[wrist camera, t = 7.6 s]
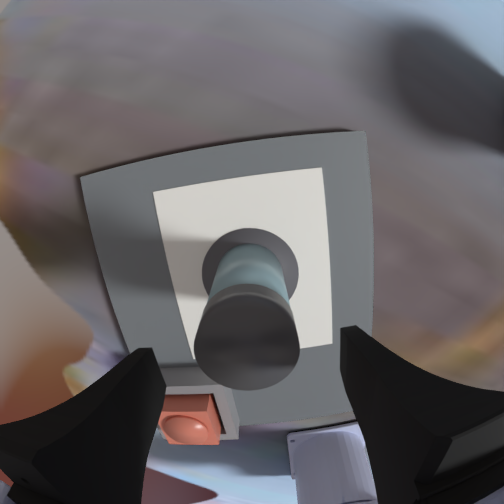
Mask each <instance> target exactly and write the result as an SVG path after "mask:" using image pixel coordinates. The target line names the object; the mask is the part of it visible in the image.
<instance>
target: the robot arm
mask: <svg viewBox="0 0 504 504" xmlns="http://www.w3.org/2000/svg"><path fill="white" fill-rule="evenodd" d="M340 372H341V377H342V381H343V384H344V388H345V392H346V394H347V397H348V399H349V402H350V404H351V407H352V409H353V412H354V414H355V417H356V419H357V422H352V423H348V424H343V425H337V426H332V427H326V428H321V429H314V430H308V431H301V432H293V433H289V434H288V435H287V442H288V451H289V460H290V469H291V477H292V479H295V480H296V490H297V500H298V504H504V392H501V391H493V390H486V389H480V388H475V387H471V386H466V385H463V384H459V383H456V382H453V381H450V380H447V379H444V378H441V377H439V376H436V375H434V374H431V373H429V372H427V371H425V370H423V369H421V368H419V367H417V366H415V365H413V364H411V363H409V362H408V361H406V360H404V359H403V358H401V357H399V356H398V355H396V354H395V353H393V352H392V351H390V350H389V349H387V348H386V347H384V346H383V345H382V344H380V343H379V342H378V341H376V340H375V339H374V338H372V337H371V336H370V335H368V334H367V333H366V332H364V331H363V330H362V329H361V328H359V327H358V326H357V325H354V326H348V327H342V328H340ZM166 387H167V386H166V383H165V381H164V378H163V376H162V373H161V370H160V368H159V365H158V362H157V360H156V357H155V354H154V351H153V349H152V347H149V348H138V349H136V350H135V351H133V352H132V353H131V354H129V355H128V356H127V357H126V358H124V359H123V360H122V361H121V362H119V363H118V364H117V365H116V366H115V367H113V368H112V369H111V370H110V371H108V372H107V373H106V374H105V375H104V376H102V377H101V378H100V379H98V380H97V381H96V382H94V383H93V384H92V385H90V386H89V387H88V388H86V389H85V390H83V391H82V392H80V393H79V394H77V395H76V396H74V397H72V398H70V399H69V400H67V401H65V402H64V403H62V404H59V405H57V406H56V407H53V408H51V409H49V410H47V411H45V412H42V413H40V414H37V415H35V416H32V417H29V418H26V419H23V420H19V421H16V422H11V423H7V424H2V425H0V469H1V470H2V471H3V472H4V473H5V474H6V475H7V476H8V477H9V478H10V479H11V480H12V481H13V482H14V483H13V485H12V487H10V486H9V485H7V484H6V483H4V482H3V481H1V480H0V504H141V497H142V488H143V480H144V473H145V467H146V462H147V457H148V453H149V449H150V446H151V443H152V440H153V437H154V434H155V431H156V428H157V425H158V422H159V418H160V415H161V412H162V409H163V405H164V399H165V393H166ZM365 444H366V448H367V452H368V456H369V460H370V464H371V469H372V474H373V477H372V474H371V470H370V467H369V464H368V460H367V457H366V454H365V451H364V446H365ZM373 479H374V480H373ZM374 483H375V484H374Z"/></svg>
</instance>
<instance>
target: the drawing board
mask: <svg viewBox="0 0 504 504" xmlns="http://www.w3.org/2000/svg"><path fill="white" fill-rule="evenodd" d="M80 180H81V185H82V191H83V196H84V201H85V206H86V210H87V215H88V219H89V224H90V228H91V232H92V236H93V240H94V244H95V248H96V252H97V256H98V259H99V263H100V266H101V270H102V273H103V277H104V280H105V283H106V287H107V290H108V293H109V296H110V299H111V302H112V305H113V308H114V311H115V314H116V317H117V320H118V323H119V325H120V328H121V331H122V334H123V336H124V339H125V342H126V344H127V347H128V349H129V352H130V354H131V353H132V352H133V351H135V350H136V349H138V348H149V347H152V349H153V351H154V354H155V357H156V360H157V362H158V365H159V368H160V370H161V373H162V376H163V378H164V381H165V383H166V386H167V387H166V393H165V394H210V393H212V394H213V397H214V400H215V403H216V406H217V410H218V413H219V416H220V419H221V422H222V424H221V433H220V440H234V439H238V438H239V426H244V425H257V424H269V423H278V422H287V421H295V420H302V419H309V418H315V417H322V416H327V415H333V414H338V413H344V412H349V411H353V409H352V407H351V404H350V402H349V399H348V397H347V394H346V392H345V388H344V384H343V381H342V377H341V372H340V328H342V327H348V326H354V325H357V326H358V327H359V328H361V329H362V330H363V331H364V332H366V333H367V334H368V335H370V336H372V318H373V291H374V239H373V211H372V194H371V180H370V168H369V158H368V148H367V139H366V131H350V132H333V133H319V134H307V135H296V136H286V137H277V138H269V139H261V140H253V141H246V142H239V143H232V144H226V145H220V146H214V147H208V148H202V149H197V150H191V151H186V152H181V153H176V154H171V155H166V156H161V157H157V158H152V159H148V160H144V161H139V162H135V163H131V164H127V165H123V166H119V167H115V168H111V169H108V170H104V171H100V172H97V173H93V174H89V175H86V176H83V177H80ZM249 243H250V244H258V245H261V246H264V247H266V248H267V249H269V250H270V251H272V252H273V253H274V254H275V255H276V257H277V258H278V260H279V262H280V264H281V267H282V272H283V276H284V281H285V285H286V289H287V294H288V298H289V303H290V308H291V310H292V313H293V316H294V320H295V325H296V329H297V334H298V338H299V344H300V354H299V359H298V362H297V364H296V366H295V368H294V369H293V370H292V372H291V373H290V374H289V375H288V376H287V377H286V378H285V379H283V380H282V381H280V382H279V383H277V384H275V385H273V386H270V387H268V388H264V389H260V390H251V391H244V390H236V389H231V388H228V387H225V386H222V385H220V384H218V383H216V382H215V381H213V380H212V379H210V378H209V377H208V376H207V375H206V374H205V373H204V372H203V371H202V370H201V368H200V367H199V365H198V363H197V361H196V359H195V355H194V340H195V336H196V333H197V330H198V326H199V323H200V320H201V317H202V313H203V310H204V308H205V306H206V304H207V301H208V298H209V294H210V291H211V288H212V285H213V281H214V278H215V275H216V272H217V268H218V265H219V262H220V260H221V259H222V257H223V256H224V255H225V253H226V252H228V251H229V250H230V249H232V248H233V247H235V246H238V245H241V244H249ZM157 428H158V430H159V432H160V434H161V435H162V437H163V439H166V437H165V435H164V433H163V431H162V430H161V428H160V426H159V424H158V425H157Z"/></svg>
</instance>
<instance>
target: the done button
mask: <svg viewBox="0 0 504 504" xmlns="http://www.w3.org/2000/svg"><path fill="white" fill-rule="evenodd" d="M158 424H159V426H160V428H161V430H162V431H163V433H164V435H165V437H166V439H167V441H168V443H169V444H182V445H219V442H220V433H221V424H222V422H221V419H220V416H219V413H218V410H217V406H216V403H215V400H214V397H213V394H212V393H210V394H165V399H164V405H163V409H162V412H161V415H160V418H159V422H158Z"/></svg>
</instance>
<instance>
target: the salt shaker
mask: <svg viewBox="0 0 504 504" xmlns="http://www.w3.org/2000/svg"><path fill="white" fill-rule="evenodd" d="M299 354H300V344H299V338H298V334H297V329H296V325H295V320H294V316H293V313H292V310H291V308H290V303H289V298H288V294H287V289H286V285H285V281H284V276H283V272H282V267H281V264H280V262H279V260H278V258H277V257H276V255H275V254H274V253H273V252H272V251H270V250H269V249H267V248H266V247H264V246H261V245H258V244H250V243H249V244H241V245H238V246H235V247H233V248H232V249H230V250H229V251H228V252H226V253H225V255H224V256H223V257H222V259H221V260H220V262H219V265H218V268H217V272H216V275H215V278H214V281H213V285H212V288H211V291H210V294H209V298H208V301H207V304H206V306H205V308H204V310H203V313H202V317H201V320H200V323H199V326H198V330H197V333H196V336H195V340H194V355H195V359H196V361H197V363H198V365H199V367H200V368H201V370H202V371H203V372H204V373H205V374H206V375H207V376H208V377H209V378H210V379H212V380H213V381H215V382H216V383H218V384H220V385H222V386H225V387H228V388H231V389H236V390H244V391H251V390H260V389H264V388H268V387H270V386H273V385H275V384H277V383H279V382H280V381H282V380H283V379H285V378H286V377H287V376H288V375H289V374H290V373H291V372H292V370H293V369H294V368H295V366H296V364H297V362H298V359H299Z"/></svg>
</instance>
